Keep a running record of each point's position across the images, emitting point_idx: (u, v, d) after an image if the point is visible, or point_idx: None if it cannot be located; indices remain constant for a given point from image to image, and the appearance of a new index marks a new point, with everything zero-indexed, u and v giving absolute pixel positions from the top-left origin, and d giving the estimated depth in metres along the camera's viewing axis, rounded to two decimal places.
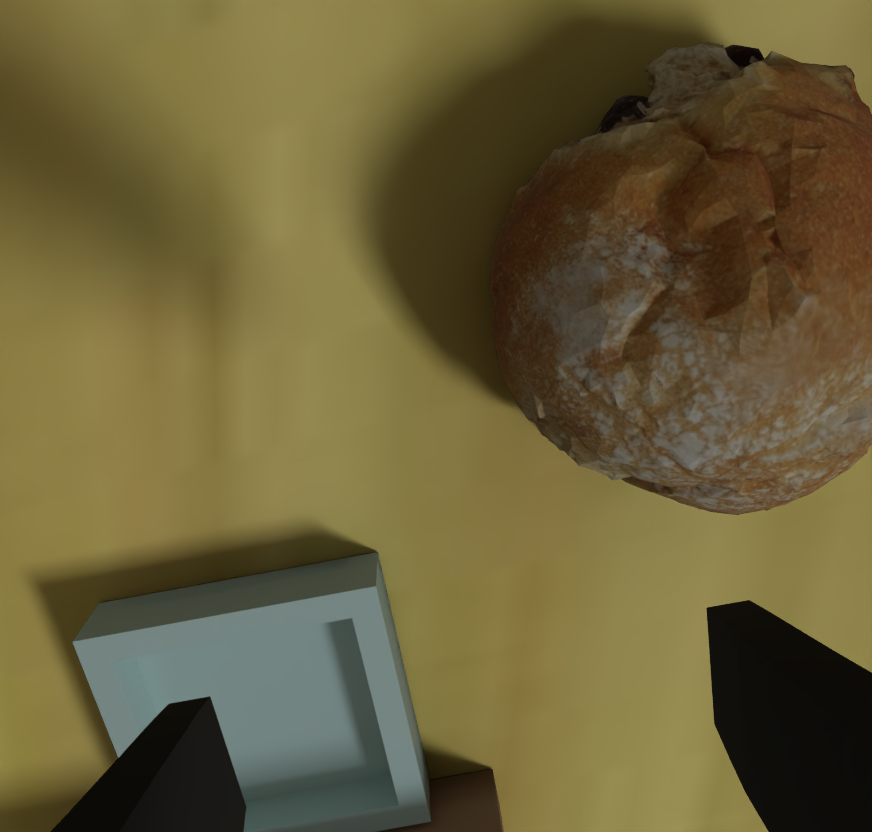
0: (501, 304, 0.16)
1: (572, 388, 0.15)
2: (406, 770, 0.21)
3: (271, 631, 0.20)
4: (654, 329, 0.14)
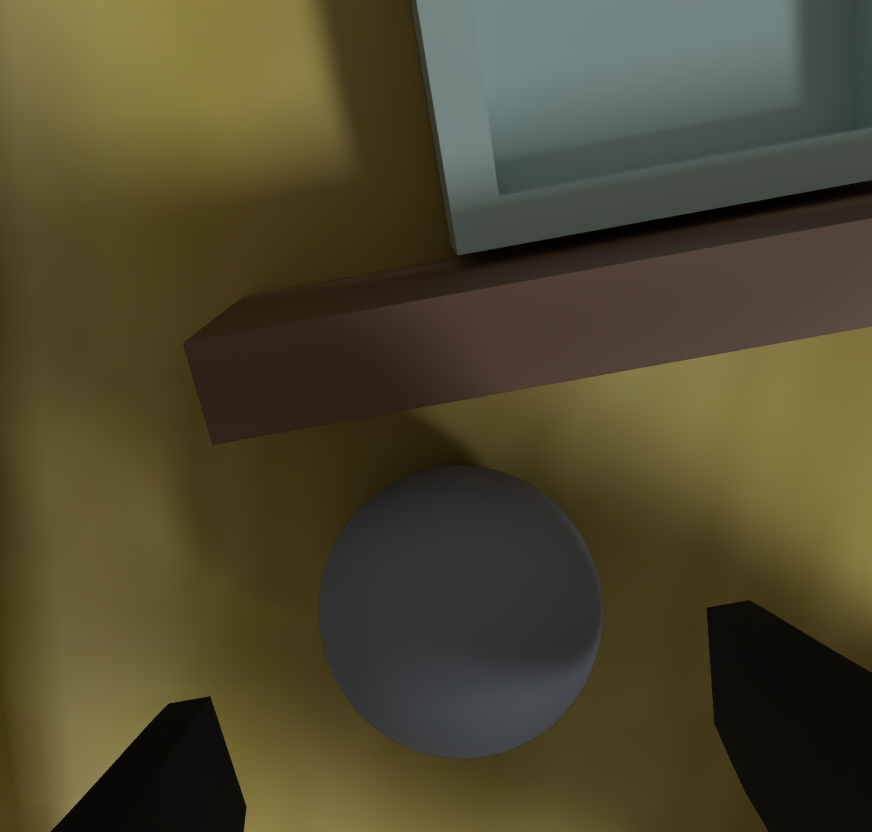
0: None
1: None
2: None
3: None
4: None
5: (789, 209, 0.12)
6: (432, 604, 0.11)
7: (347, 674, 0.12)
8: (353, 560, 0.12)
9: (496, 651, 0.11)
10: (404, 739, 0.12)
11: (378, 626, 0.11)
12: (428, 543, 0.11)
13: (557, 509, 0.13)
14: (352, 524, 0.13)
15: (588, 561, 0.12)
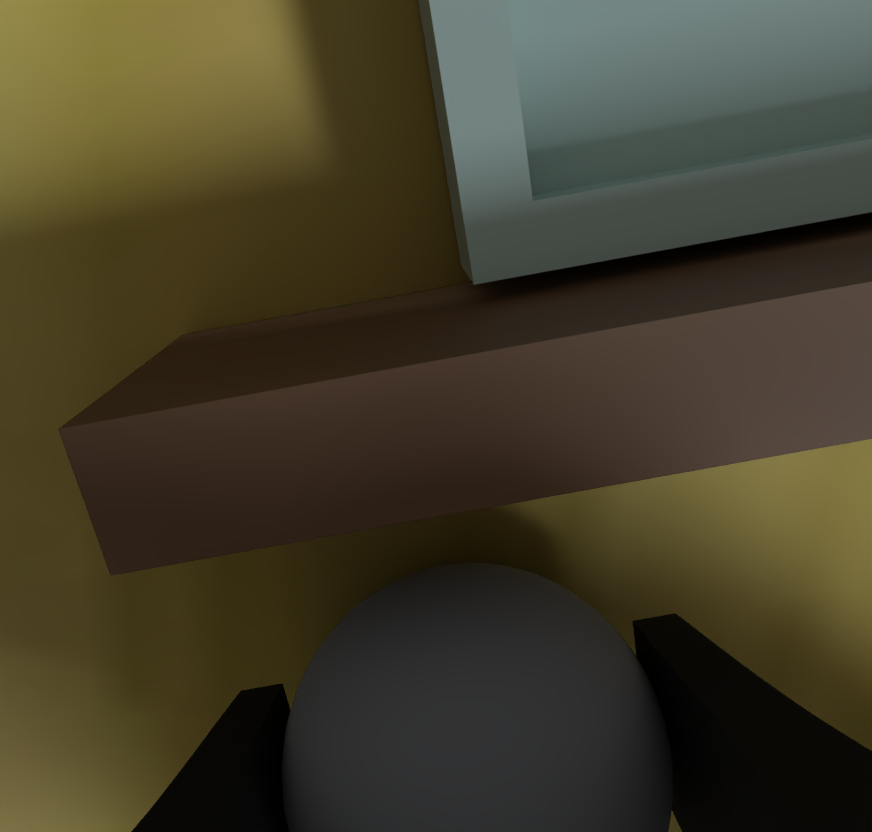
0: None
1: None
2: None
3: None
4: None
5: None
6: (439, 802, 0.07)
7: None
8: (326, 718, 0.08)
9: None
10: None
11: (361, 829, 0.08)
12: (434, 705, 0.08)
13: (609, 632, 0.09)
14: (327, 655, 0.09)
15: (655, 709, 0.09)
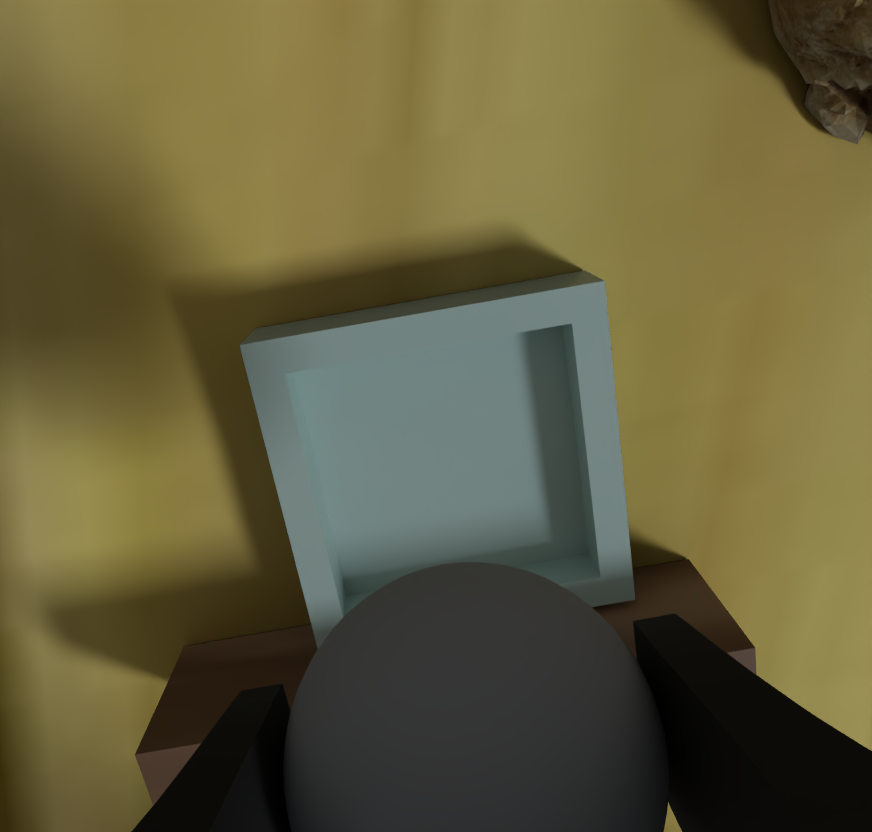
0: None
1: None
2: (614, 531, 0.18)
3: (474, 339, 0.16)
4: None
5: None
6: (453, 796, 0.08)
7: None
8: (334, 715, 0.08)
9: None
10: None
11: (372, 823, 0.08)
12: (445, 701, 0.08)
13: (608, 629, 0.10)
14: (332, 653, 0.09)
15: (653, 704, 0.09)
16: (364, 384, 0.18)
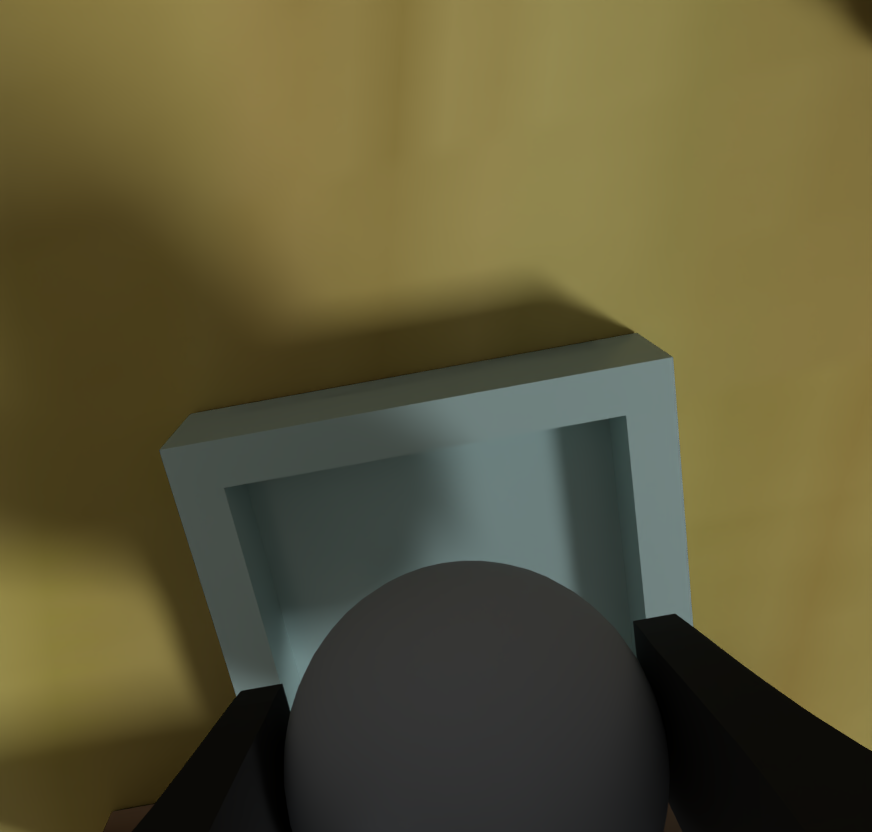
0: None
1: None
2: None
3: (489, 438, 0.12)
4: None
5: None
6: (453, 793, 0.08)
7: None
8: (334, 712, 0.08)
9: None
10: None
11: (372, 822, 0.08)
12: (444, 699, 0.08)
13: (609, 628, 0.10)
14: (332, 651, 0.09)
15: (653, 702, 0.09)
16: (339, 489, 0.13)
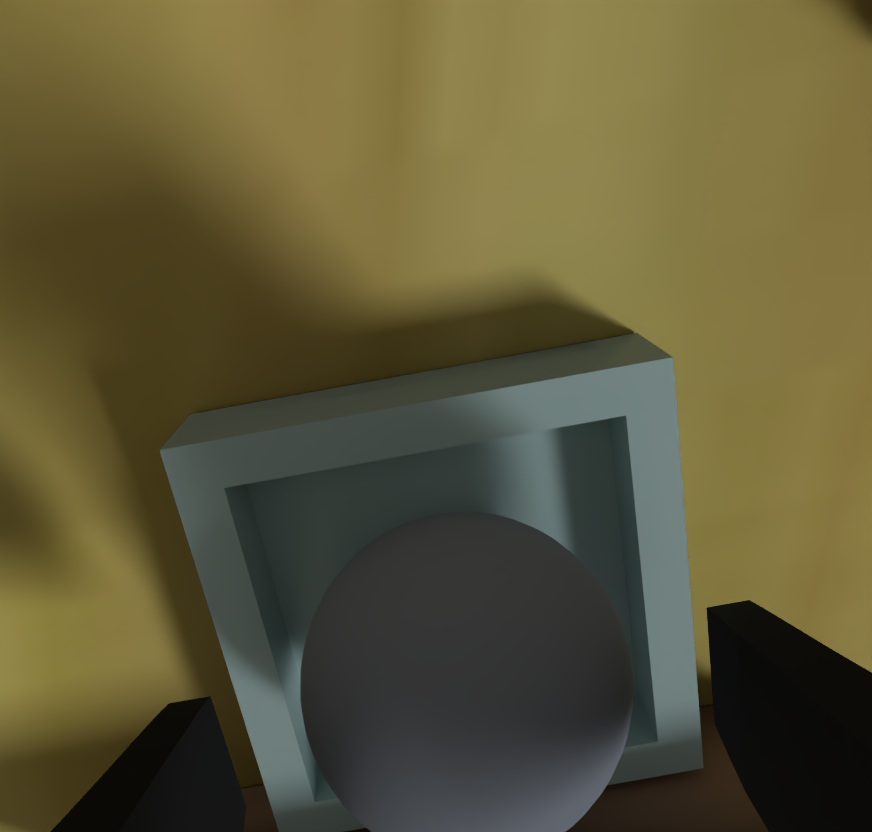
0: None
1: None
2: (677, 683, 0.13)
3: (489, 438, 0.12)
4: None
5: None
6: (445, 690, 0.09)
7: (337, 770, 0.10)
8: (346, 632, 0.10)
9: (523, 747, 0.09)
10: None
11: (378, 716, 0.09)
12: (439, 616, 0.09)
13: (581, 565, 0.11)
14: (342, 584, 0.11)
15: (618, 627, 0.11)
16: (339, 489, 0.13)
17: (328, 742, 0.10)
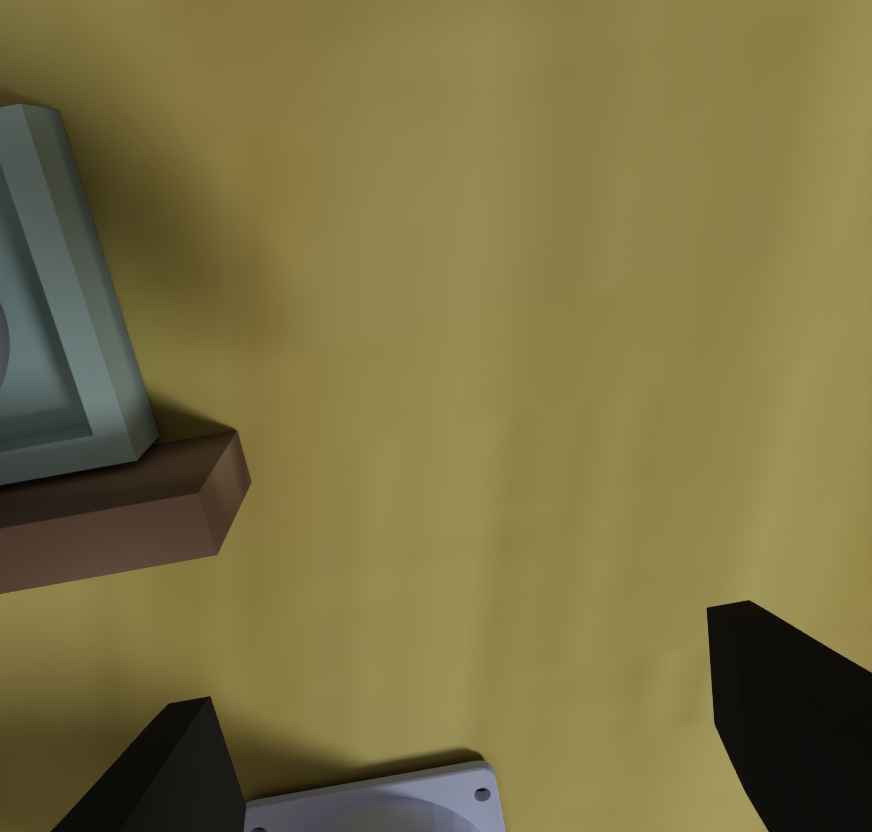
0: None
1: None
2: (96, 384, 0.17)
3: None
4: None
5: (42, 485, 0.18)
6: None
7: None
8: None
9: None
10: None
11: None
12: None
13: None
14: None
15: None
16: None
17: None
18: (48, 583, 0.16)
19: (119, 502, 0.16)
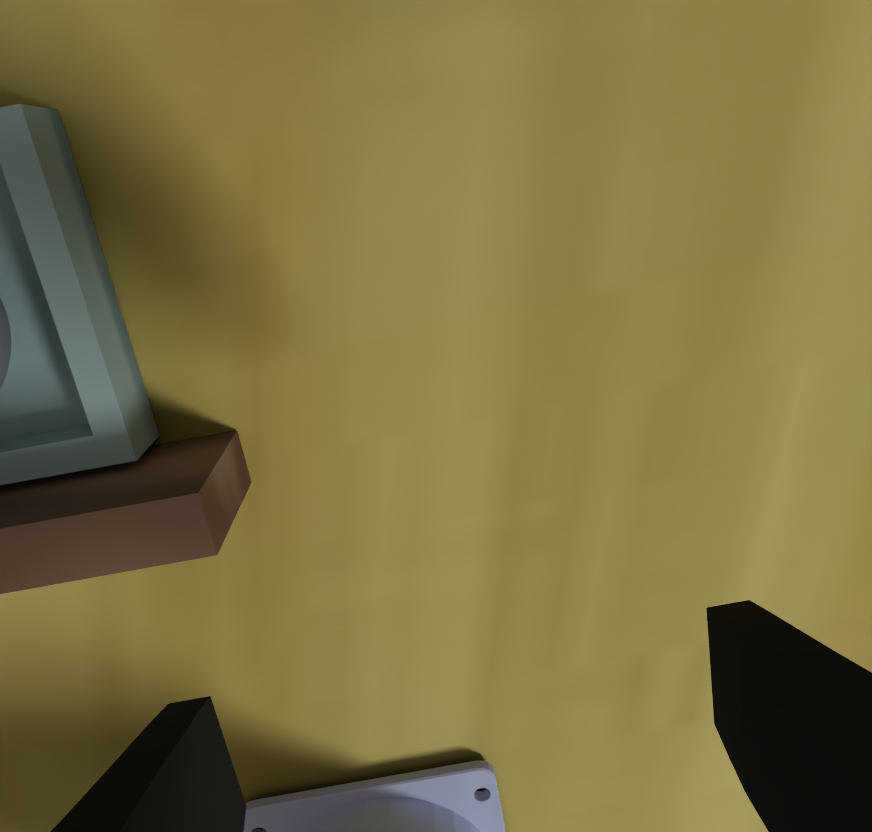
0: None
1: None
2: (95, 384, 0.17)
3: None
4: None
5: (42, 485, 0.18)
6: None
7: None
8: None
9: None
10: None
11: None
12: None
13: None
14: None
15: None
16: None
17: None
18: (48, 583, 0.16)
19: (118, 502, 0.16)
